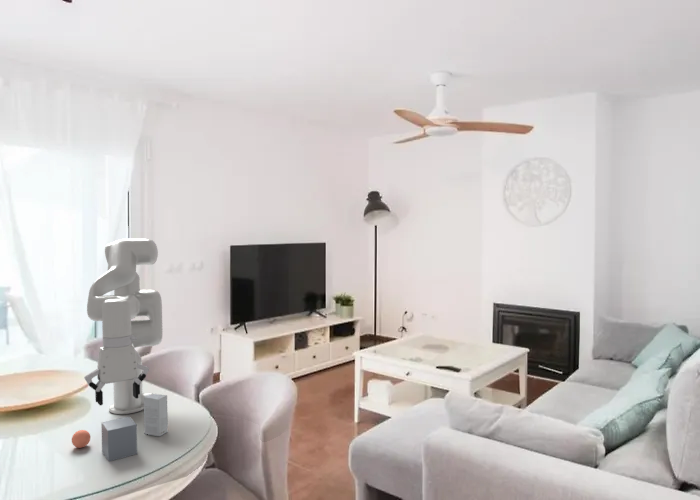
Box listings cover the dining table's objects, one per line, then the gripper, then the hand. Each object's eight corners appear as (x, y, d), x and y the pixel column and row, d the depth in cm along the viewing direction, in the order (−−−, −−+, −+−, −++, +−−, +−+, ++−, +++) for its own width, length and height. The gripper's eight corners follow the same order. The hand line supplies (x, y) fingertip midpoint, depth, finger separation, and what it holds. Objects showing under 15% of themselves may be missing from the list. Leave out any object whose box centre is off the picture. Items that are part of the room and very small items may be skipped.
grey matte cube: (129, 444, 157) (129, 416, 157) (137, 454, 151) (136, 424, 150) (102, 451, 152) (101, 422, 152) (108, 461, 146) (107, 430, 146)
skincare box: (168, 431, 167) (167, 395, 166) (159, 437, 163) (158, 399, 162) (152, 429, 169) (152, 392, 168) (143, 434, 165) (143, 397, 164)
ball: (88, 441, 159) (88, 425, 159) (92, 447, 155) (91, 431, 155) (70, 446, 156) (69, 429, 156) (73, 452, 152) (73, 435, 152)
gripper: (144, 335, 158) (145, 391, 159) (81, 343, 147) (82, 403, 148) (152, 340, 152) (152, 398, 153) (86, 348, 141) (88, 410, 142)
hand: (118, 400), depth 150 cm, fingers open, 9 cm apart
